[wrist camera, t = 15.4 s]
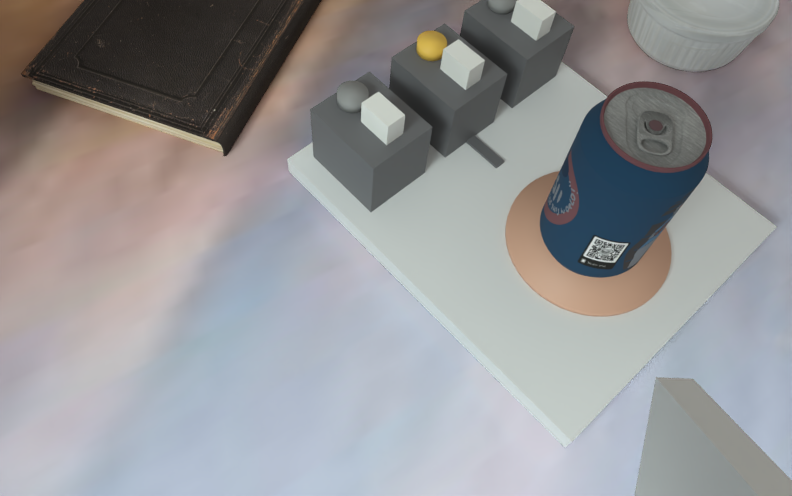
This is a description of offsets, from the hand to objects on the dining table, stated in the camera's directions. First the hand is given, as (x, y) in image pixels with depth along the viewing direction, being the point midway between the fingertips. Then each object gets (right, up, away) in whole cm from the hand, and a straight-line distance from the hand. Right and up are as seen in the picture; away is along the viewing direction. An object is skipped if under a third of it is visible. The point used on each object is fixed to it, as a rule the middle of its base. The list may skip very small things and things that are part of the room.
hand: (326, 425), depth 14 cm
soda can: (+14, +4, +33) cm, 36 cm away
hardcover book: (-14, +22, +43) cm, 50 cm away
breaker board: (+11, +7, +36) cm, 38 cm away
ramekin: (+25, +22, +45) cm, 56 cm away
